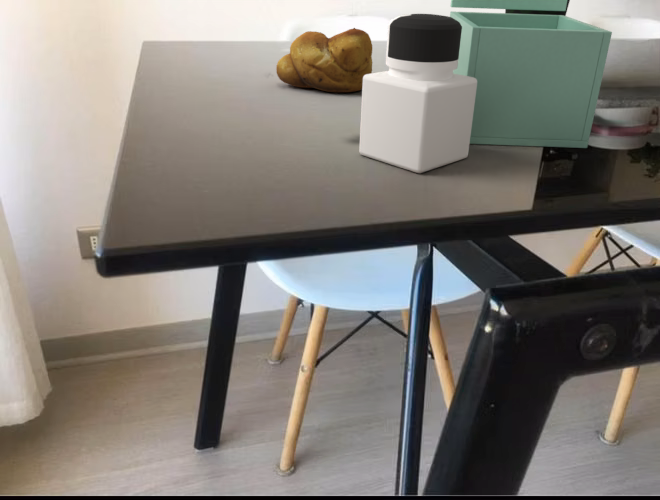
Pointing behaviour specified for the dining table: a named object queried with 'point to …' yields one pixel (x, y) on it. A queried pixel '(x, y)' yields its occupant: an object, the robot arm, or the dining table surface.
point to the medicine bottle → (418, 97)
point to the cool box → (532, 77)
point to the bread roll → (328, 61)
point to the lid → (512, 4)
